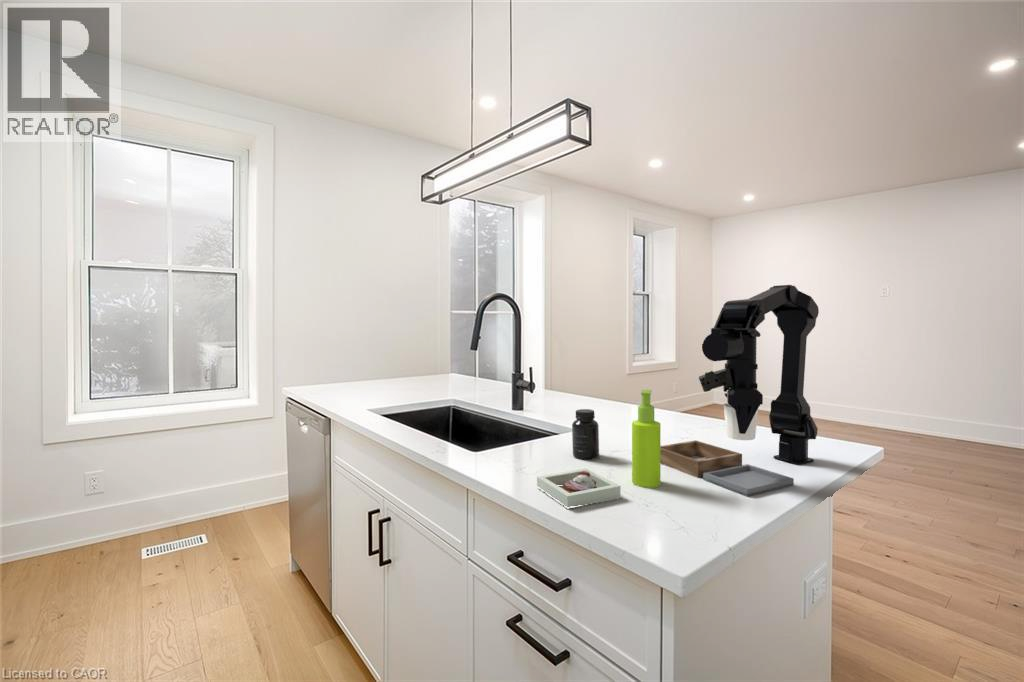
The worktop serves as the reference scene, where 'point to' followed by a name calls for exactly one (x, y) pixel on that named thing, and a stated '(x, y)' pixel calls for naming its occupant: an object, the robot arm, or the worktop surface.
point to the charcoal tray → (748, 479)
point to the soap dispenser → (646, 445)
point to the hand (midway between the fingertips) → (740, 430)
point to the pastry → (580, 483)
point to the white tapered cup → (732, 425)
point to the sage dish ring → (602, 493)
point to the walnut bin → (714, 455)
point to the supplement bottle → (585, 435)
